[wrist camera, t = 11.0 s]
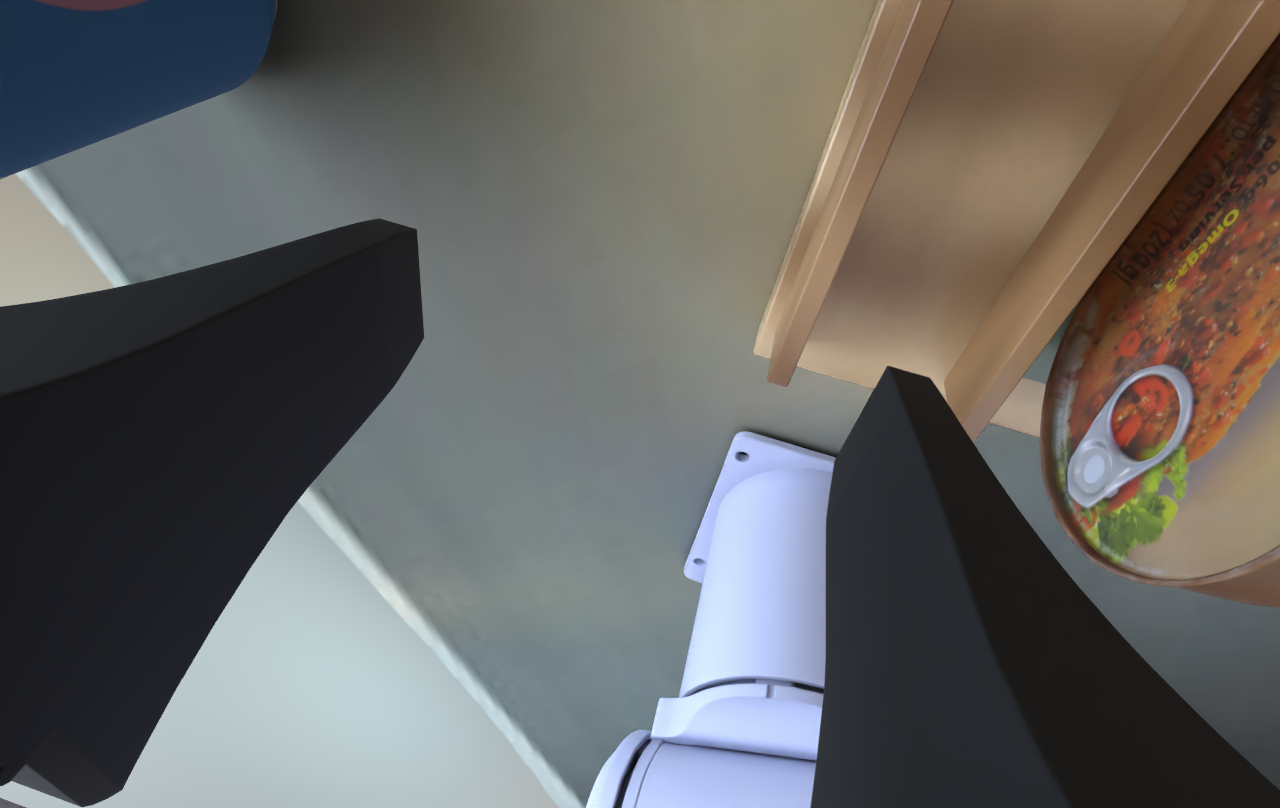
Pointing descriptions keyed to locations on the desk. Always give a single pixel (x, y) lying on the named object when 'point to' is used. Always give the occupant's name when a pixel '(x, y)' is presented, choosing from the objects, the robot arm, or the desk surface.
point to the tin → (1182, 375)
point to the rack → (994, 184)
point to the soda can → (115, 66)
